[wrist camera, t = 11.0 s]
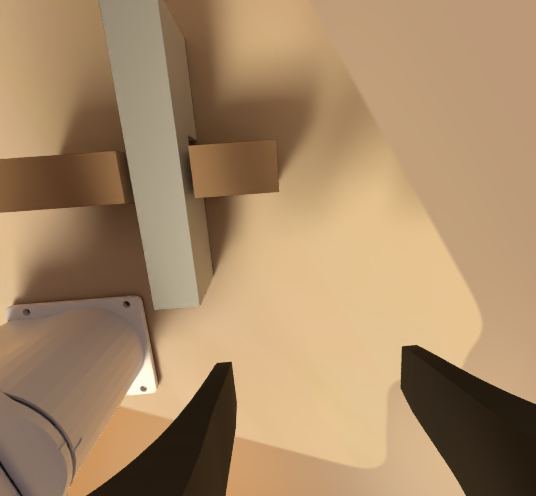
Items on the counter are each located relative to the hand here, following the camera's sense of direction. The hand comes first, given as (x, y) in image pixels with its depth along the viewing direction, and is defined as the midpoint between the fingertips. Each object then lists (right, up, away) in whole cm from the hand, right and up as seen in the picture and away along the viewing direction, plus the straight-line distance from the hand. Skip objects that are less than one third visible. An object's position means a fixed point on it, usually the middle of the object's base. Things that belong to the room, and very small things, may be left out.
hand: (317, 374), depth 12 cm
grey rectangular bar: (-8, +10, +7) cm, 15 cm away
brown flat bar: (-9, +10, +7) cm, 15 cm away
